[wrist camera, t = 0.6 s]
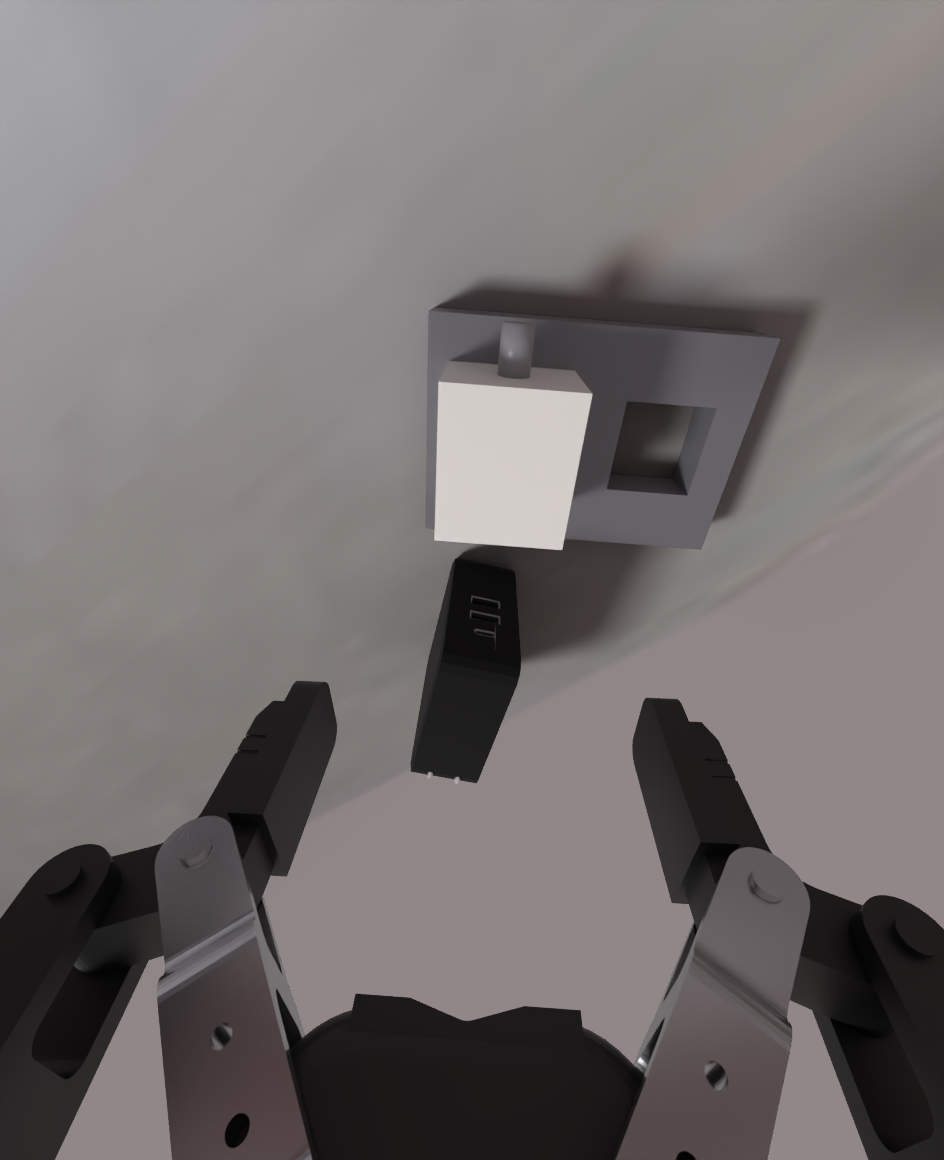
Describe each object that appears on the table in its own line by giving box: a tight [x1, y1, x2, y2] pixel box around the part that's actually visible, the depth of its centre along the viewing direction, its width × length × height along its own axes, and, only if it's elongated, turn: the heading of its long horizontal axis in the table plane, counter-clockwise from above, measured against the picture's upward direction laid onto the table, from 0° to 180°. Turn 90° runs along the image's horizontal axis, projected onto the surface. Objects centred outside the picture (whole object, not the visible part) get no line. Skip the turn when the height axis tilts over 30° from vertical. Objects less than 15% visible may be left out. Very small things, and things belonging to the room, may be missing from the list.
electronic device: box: [411, 559, 521, 784], centre depth 30 cm, size 4×10×10 cm, turn 167°
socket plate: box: [426, 307, 781, 549], centre depth 26 cm, size 11×16×2 cm
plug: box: [434, 321, 592, 550], centre depth 23 cm, size 9×6×7 cm, turn 176°
